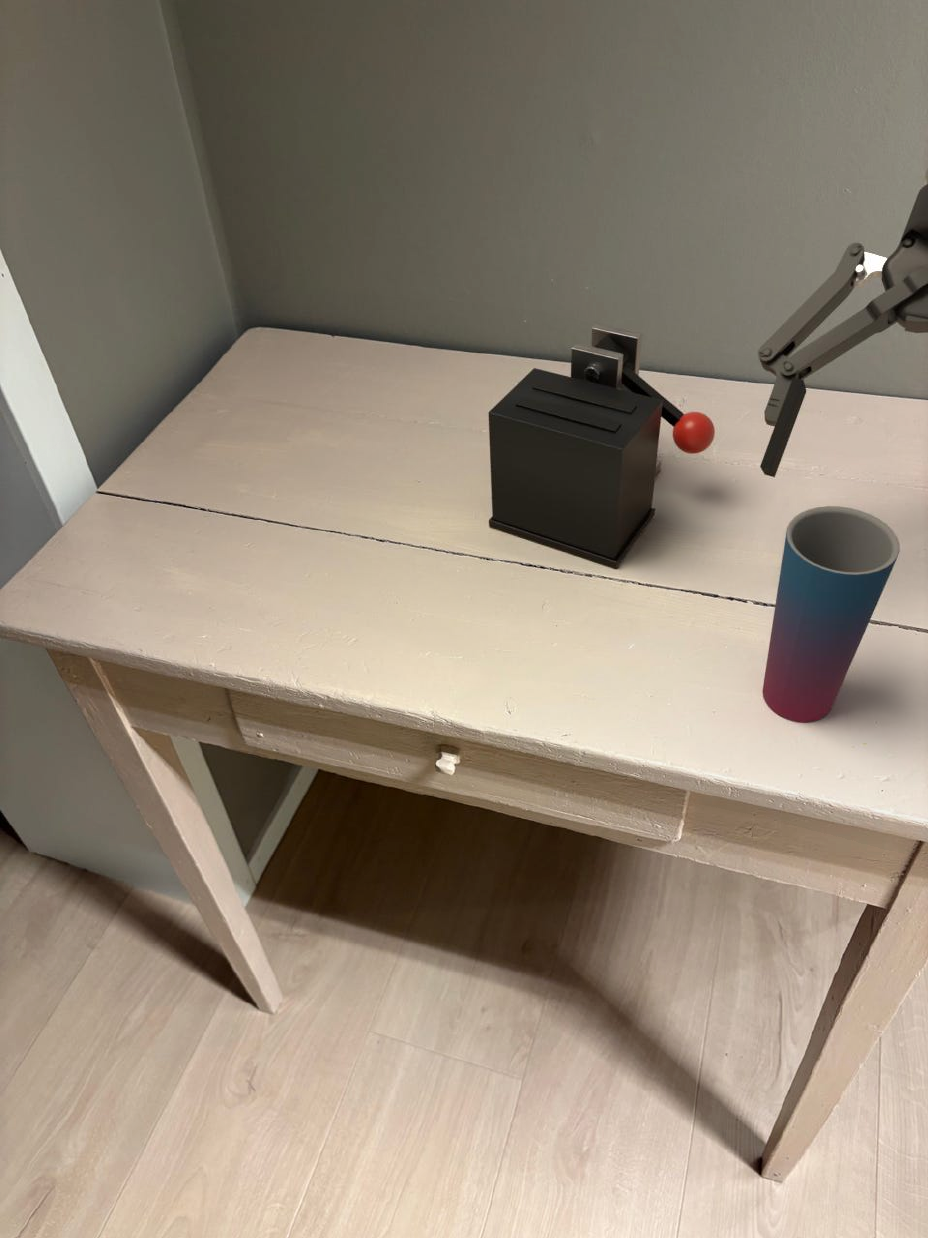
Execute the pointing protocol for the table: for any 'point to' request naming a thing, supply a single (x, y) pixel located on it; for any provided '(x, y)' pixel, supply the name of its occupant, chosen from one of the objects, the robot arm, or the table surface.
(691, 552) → the table surface
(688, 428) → the lever
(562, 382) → the toaster
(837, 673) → the cup
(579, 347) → the bracket
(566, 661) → the table surface
